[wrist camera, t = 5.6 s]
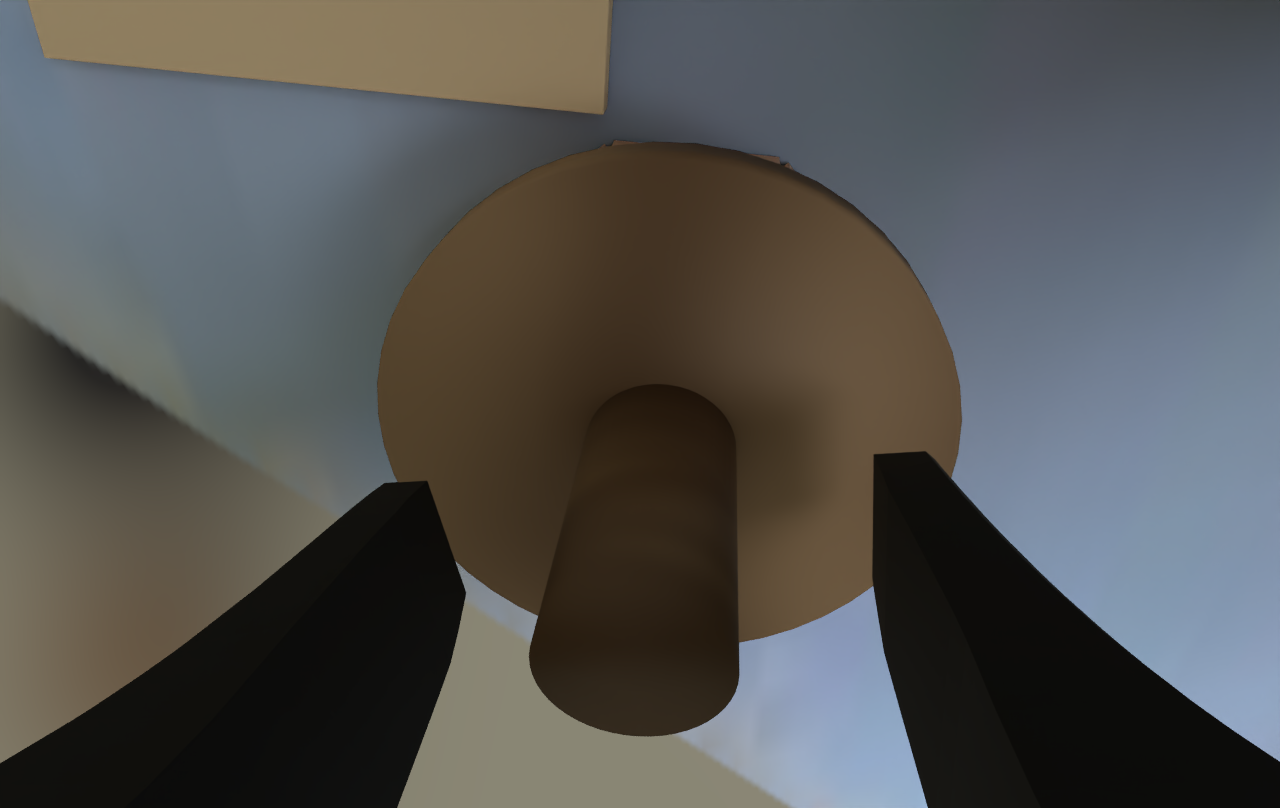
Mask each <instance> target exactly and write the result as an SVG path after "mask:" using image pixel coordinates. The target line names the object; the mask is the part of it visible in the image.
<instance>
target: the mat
mask: <svg viewBox="0 0 1280 808" xmlns="http://www.w3.org/2000/svg"><path fill="white" fill-rule="evenodd" d="M28 3H29V6H30V10H31V13H32V17H33V20H34V23H35V27H36V30H37V33H38V37H39V40H40V43H41V47H42V50H43V54H44V57H45V58H53V59H63V60H73V61H82V62H92V63H102V64H112V65H122V66H131V67H141V68H151V69H161V70H171V71H180V72H190V73H200V74H210V75H220V76H229V77H239V78H249V79H259V80H269V81H278V82H288V83H298V84H308V85H318V86H327V87H337V88H347V89H357V90H367V91H376V92H386V93H396V94H406V95H416V96H426V97H435V98H445V99H455V100H465V101H475V102H484V103H494V104H504V105H514V106H524V107H533V108H543V109H553V110H563V111H573V112H582V113H592V114H602V115H603V114H604V112H605V110H606V109H607V101H608V82H609V63H610V44H611V26H612V7H613V0H28Z"/></svg>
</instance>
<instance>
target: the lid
mask: <svg viewBox="0 0 1280 808" xmlns="http://www.w3.org/2000/svg"><path fill="white" fill-rule="evenodd" d="M377 388H378V415H379V421H380V426H381V431H382V437H383V442H384V446H385V449H386V452H387V455H388V458H389V461H390V464H391V467H392V470H393V473H394V475H395V477H396V479H397V481H398V482H412V481H428V484H429V487H430V490H431V493H432V496H433V498H434V501H435V504H436V507H437V510H438V513H439V516H440V519H441V522H442V524H443V527H444V530H445V533H446V536H447V539H448V542H449V545H450V548H451V550H452V553H453V556H454V559H455V561H456V562H457V563H458V564H460V565H461V566H462V567H463V568H464V569H465V570H466V571H467V572H468V573H470V574H471V575H472V576H474V577H475V578H476V579H478V580H479V581H480V582H482V583H483V584H484V585H486V586H487V587H488V588H490V589H491V590H492V591H494V592H496V593H497V594H499V595H501V596H502V597H504V598H506V599H507V600H509V601H510V602H512V603H514V604H515V605H517V606H519V607H521V608H523V609H525V610H527V611H529V612H531V613H533V614H535V615H538V619H537V623H536V626H535V630H534V634H533V638H532V642H531V645H530V652H529V661H530V668H531V671H532V675H533V677H534V679H535V681H536V683H537V685H538V687H539V688H540V689H541V691H542V692H543V694H544V695H545V696H546V697H547V698H548V699H549V700H550V701H551V702H552V703H553V704H554V705H555V706H556V707H558V708H559V709H560V710H562V711H563V712H564V713H566V714H568V715H569V716H571V717H573V718H574V719H576V720H578V721H580V722H582V723H585V724H587V725H589V726H592V727H595V728H597V729H600V730H604V731H608V732H612V733H617V734H622V735H630V736H663V735H669V734H675V733H679V732H683V731H687V730H690V729H692V728H695V727H698V726H700V725H702V724H704V723H706V722H708V721H709V720H711V719H712V718H714V717H715V716H716V715H718V714H719V713H720V712H721V711H722V710H723V709H724V708H725V707H726V706H727V705H728V703H729V702H730V701H731V699H732V697H733V696H734V694H735V692H736V689H737V686H738V681H739V642H744V641H749V640H754V639H760V638H764V637H768V636H771V635H774V634H778V633H781V632H784V631H788V630H791V629H794V628H797V627H799V626H801V625H804V624H806V623H809V622H811V621H814V620H816V619H818V618H821V617H823V616H825V615H827V614H829V613H831V612H832V611H834V610H836V609H838V608H840V607H842V606H843V605H845V604H847V603H849V602H851V601H852V600H853V599H855V598H856V597H858V596H859V595H861V594H862V593H863V592H865V591H866V590H868V589H869V588H871V587H872V586H873V580H872V549H873V457H874V454H885V453H902V452H919V451H926V452H927V453H928V454H930V455H931V456H932V457H933V458H934V459H935V460H936V461H937V462H938V463H939V465H940V466H941V467H942V468H943V469H944V471H945V472H946V473H947V474H948V475H949V476H950V478H951V477H952V473H953V470H954V466H955V463H956V459H957V455H958V450H959V441H960V432H961V423H962V414H961V395H960V384H959V380H958V375H957V371H956V366H955V361H954V357H953V352H952V350H951V347H950V345H949V342H948V340H947V337H946V335H945V332H944V330H943V327H942V325H941V322H940V320H939V318H938V316H937V314H936V312H935V310H934V308H933V306H932V304H931V302H930V300H929V298H928V296H927V293H926V292H925V290H924V288H923V287H922V285H921V283H920V282H919V280H918V278H917V277H916V275H915V273H914V272H913V270H912V268H911V267H910V265H909V263H908V262H907V260H906V259H905V258H904V257H903V255H902V254H901V253H900V252H899V251H898V249H897V248H896V247H895V246H894V245H893V243H892V242H891V241H890V240H889V239H888V237H887V236H886V235H885V234H884V233H883V231H881V230H880V229H879V228H878V227H877V226H876V225H875V224H874V223H872V222H871V221H870V220H869V219H868V218H867V217H866V216H865V215H864V214H862V213H861V212H860V211H859V210H858V209H857V208H856V207H855V206H853V205H852V204H851V203H849V202H848V201H846V200H845V199H843V198H841V197H840V196H838V195H837V194H835V193H834V192H832V191H831V190H829V189H828V188H826V187H825V186H823V185H822V184H820V183H819V182H817V181H815V180H813V179H811V178H808V177H806V176H804V175H802V174H800V173H798V172H796V171H794V170H792V169H790V168H787V167H785V166H783V165H781V164H778V163H775V162H772V161H769V160H766V159H763V158H760V157H756V156H753V155H750V154H747V153H744V152H741V151H736V150H731V149H725V148H719V147H714V146H708V145H702V144H696V143H672V142H645V143H635V144H624V145H613V146H607V147H603V148H599V149H595V150H590V151H586V152H582V153H577V154H573V155H569V156H567V157H564V158H561V159H559V160H556V161H554V162H551V163H548V164H546V165H543V166H541V167H538V168H535V169H533V170H531V171H529V172H527V173H526V174H524V175H522V176H520V177H518V178H517V179H515V180H513V181H511V182H509V183H508V184H506V185H504V186H502V187H501V188H499V189H497V190H496V191H495V192H493V193H492V194H491V195H490V196H488V197H487V198H486V199H484V200H483V201H482V202H480V203H479V204H478V205H477V206H475V207H474V208H473V209H471V210H470V211H469V212H468V213H467V214H466V215H465V216H464V217H463V218H462V219H461V220H460V221H459V222H458V223H457V224H456V225H455V226H454V227H453V228H452V230H451V231H450V232H449V233H448V234H447V235H446V236H445V237H444V238H443V239H442V240H441V242H440V243H439V244H438V245H437V246H436V248H435V249H434V250H433V251H432V252H431V254H430V255H429V256H428V257H427V258H426V260H425V261H424V262H423V264H422V265H421V267H420V268H419V270H418V271H417V273H416V274H415V275H414V277H413V278H412V280H411V281H410V283H409V284H408V286H407V287H406V288H405V290H404V292H403V295H402V297H401V299H400V301H399V303H398V305H397V307H396V309H395V311H394V313H393V315H392V318H391V320H390V323H389V327H388V330H387V333H386V337H385V340H384V344H383V347H382V351H381V358H380V366H379V374H378V382H377Z"/></svg>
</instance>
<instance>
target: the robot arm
mask: <svg viewBox="0 0 1280 808" xmlns="http://www.w3.org/2000/svg"><path fill="white" fill-rule="evenodd" d="M872 580H873V586H874V593H875V599H876V606H877V612H878V618H879V624H880V630H881V636H882V642H883V648H884V654H885V657H886V661H887V664H888V668H889V672H890V675H891V679H892V683H893V686H894V690H895V693H896V697H897V700H898V704H899V708H900V711H901V715H902V718H903V722H904V725H905V729H906V732H907V736H908V739H909V743H910V746H911V750H912V753H913V757H914V760H915V764H916V767H917V771H918V775H919V778H920V782H921V785H922V789H923V792H924V796H925V799H926V803H927V806H928V808H1280V762H1279V761H1278V760H1276V759H1275V758H1273V757H1272V756H1270V755H1269V754H1267V753H1266V752H1264V751H1263V750H1261V749H1260V748H1258V747H1257V746H1255V745H1254V744H1252V743H1251V742H1249V741H1248V740H1246V739H1245V738H1243V737H1242V736H1240V735H1239V734H1237V733H1236V732H1234V731H1233V730H1231V729H1230V728H1229V727H1227V726H1226V725H1224V724H1223V723H1222V722H1220V721H1219V720H1218V719H1216V718H1215V717H1213V716H1212V715H1211V714H1209V713H1208V712H1206V711H1205V710H1204V709H1202V708H1201V707H1199V706H1198V705H1197V704H1195V703H1194V702H1192V701H1191V700H1190V699H1188V698H1187V697H1186V696H1185V695H1183V694H1182V693H1181V692H1179V691H1178V690H1177V689H1175V688H1174V687H1173V686H1172V685H1170V684H1169V683H1168V682H1166V681H1165V680H1164V679H1162V678H1161V677H1160V676H1159V675H1157V674H1156V673H1155V672H1153V671H1152V670H1151V669H1150V668H1148V667H1147V666H1146V665H1144V664H1143V663H1142V662H1141V661H1140V660H1138V659H1137V658H1136V657H1135V656H1133V655H1132V654H1131V653H1130V652H1129V651H1127V650H1126V649H1125V648H1124V647H1122V646H1121V645H1120V644H1119V643H1118V642H1117V641H1115V640H1114V639H1113V638H1112V637H1111V636H1110V635H1108V634H1107V633H1106V632H1105V631H1104V630H1102V629H1101V628H1100V627H1099V626H1098V625H1097V624H1096V623H1095V622H1093V621H1092V620H1091V619H1090V618H1089V617H1088V616H1087V615H1086V614H1084V613H1083V612H1082V611H1081V610H1080V609H1079V608H1078V607H1077V606H1075V605H1074V604H1073V603H1072V602H1071V601H1070V600H1069V599H1068V598H1067V597H1065V596H1064V595H1063V594H1062V593H1061V592H1060V591H1059V590H1058V589H1057V588H1056V587H1055V586H1054V585H1053V584H1052V583H1051V582H1049V581H1048V580H1047V579H1046V578H1045V577H1044V576H1043V575H1042V574H1041V573H1040V572H1039V571H1038V570H1037V569H1036V568H1035V567H1034V566H1033V565H1032V564H1031V563H1030V562H1029V561H1028V560H1027V559H1026V558H1025V557H1024V556H1023V555H1022V554H1021V553H1020V552H1019V551H1018V550H1017V549H1016V548H1015V547H1014V546H1013V545H1012V544H1011V543H1010V542H1009V541H1008V540H1007V539H1006V538H1005V537H1004V536H1003V535H1002V534H1001V533H1000V532H999V531H998V530H997V529H996V528H995V527H994V525H993V524H992V523H991V522H990V521H989V520H988V519H987V518H986V517H985V516H984V515H983V514H982V513H981V511H980V510H979V509H978V508H977V507H976V506H975V505H974V504H973V503H972V502H971V500H970V499H969V498H968V497H967V496H966V495H965V494H964V493H963V491H962V490H961V489H960V488H959V487H958V486H957V485H956V483H955V482H954V481H953V480H952V479H951V478H950V476H949V475H948V474H947V473H946V472H945V471H944V469H943V468H942V467H941V466H940V465H939V463H938V462H937V461H936V460H935V459H934V458H933V457H932V456H931V455H930V454H928V453H927V452H926V451H919V452H902V453H885V454H874V457H873V549H872ZM465 596H466V591H465V588H464V585H463V582H462V579H461V576H460V574H459V571H458V568H457V565H456V562H455V559H454V556H453V553H452V550H451V548H450V545H449V542H448V539H447V536H446V533H445V530H444V527H443V524H442V522H441V519H440V516H439V513H438V510H437V507H436V504H435V501H434V498H433V496H432V493H431V490H430V487H429V484H428V481H412V482H395V483H384V484H383V485H381V486H380V487H378V488H377V489H376V490H374V491H373V492H372V493H370V494H369V495H368V496H366V497H365V498H364V499H363V500H361V501H360V502H359V503H358V504H356V505H355V506H354V507H353V508H352V509H350V510H349V511H348V512H347V513H345V514H344V515H343V516H342V517H341V518H339V519H338V520H337V521H336V522H335V523H334V524H332V525H331V526H330V527H329V528H328V529H326V530H325V531H324V532H323V533H322V534H321V535H319V536H318V537H317V538H316V539H315V540H313V541H312V542H311V543H310V544H309V545H307V546H306V547H305V548H304V549H303V550H301V551H300V552H299V553H298V554H297V555H296V556H294V557H293V558H292V559H291V560H290V561H288V562H287V563H286V564H285V565H284V566H282V567H281V568H280V569H279V570H278V571H276V572H275V573H274V574H273V575H272V576H270V577H269V578H268V579H267V580H266V581H264V582H263V583H262V584H261V585H260V586H258V587H257V588H256V589H255V590H254V591H252V592H251V593H250V594H248V595H247V596H246V597H244V598H243V599H242V600H240V601H239V602H238V603H237V604H235V605H234V606H233V607H232V608H230V609H229V610H228V611H227V612H225V613H224V614H222V615H221V616H220V617H219V618H217V619H216V620H215V621H213V622H212V623H211V624H210V625H208V626H207V627H206V628H204V629H203V630H202V631H201V632H199V633H198V634H197V635H196V636H194V637H193V638H192V639H190V640H189V641H188V642H187V643H185V644H184V645H183V646H181V647H180V648H178V649H177V650H176V651H174V652H173V653H172V654H170V655H169V656H167V657H166V658H165V659H163V660H162V661H161V662H159V663H157V664H156V665H155V666H153V667H152V668H150V669H149V670H148V671H146V672H145V673H143V674H142V675H140V676H139V677H137V678H136V679H134V680H133V681H132V682H130V683H129V684H127V685H126V686H124V687H123V688H121V689H120V690H118V691H117V692H115V693H114V694H112V695H111V696H109V697H108V698H106V699H105V700H103V701H102V702H100V703H99V704H97V705H96V706H94V707H93V708H91V709H89V710H88V711H86V712H85V713H83V714H82V715H80V716H79V717H77V718H75V719H74V720H72V721H71V722H69V723H67V724H65V725H64V726H62V727H61V728H59V729H57V730H55V731H54V732H52V733H50V734H49V735H47V736H45V737H44V738H42V739H40V740H39V741H37V742H35V743H34V744H32V745H30V746H29V747H27V748H25V749H24V750H22V751H20V752H19V753H17V754H15V755H14V756H12V757H10V758H9V759H7V760H5V761H3V762H2V763H0V808H397V806H398V804H399V801H400V798H401V796H402V793H403V791H404V788H405V785H406V782H407V780H408V777H409V775H410V772H411V769H412V767H413V764H414V761H415V758H416V756H417V753H418V751H419V748H420V745H421V743H422V740H423V737H424V734H425V732H426V729H427V727H428V724H429V721H430V719H431V716H432V713H433V710H434V707H435V704H436V702H437V699H438V697H439V694H440V691H441V688H442V686H443V683H444V680H445V677H446V674H447V672H448V669H449V666H450V663H451V659H452V655H453V650H454V647H455V643H456V638H457V634H458V630H459V625H460V620H461V615H462V611H463V606H464V601H465Z"/></svg>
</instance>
